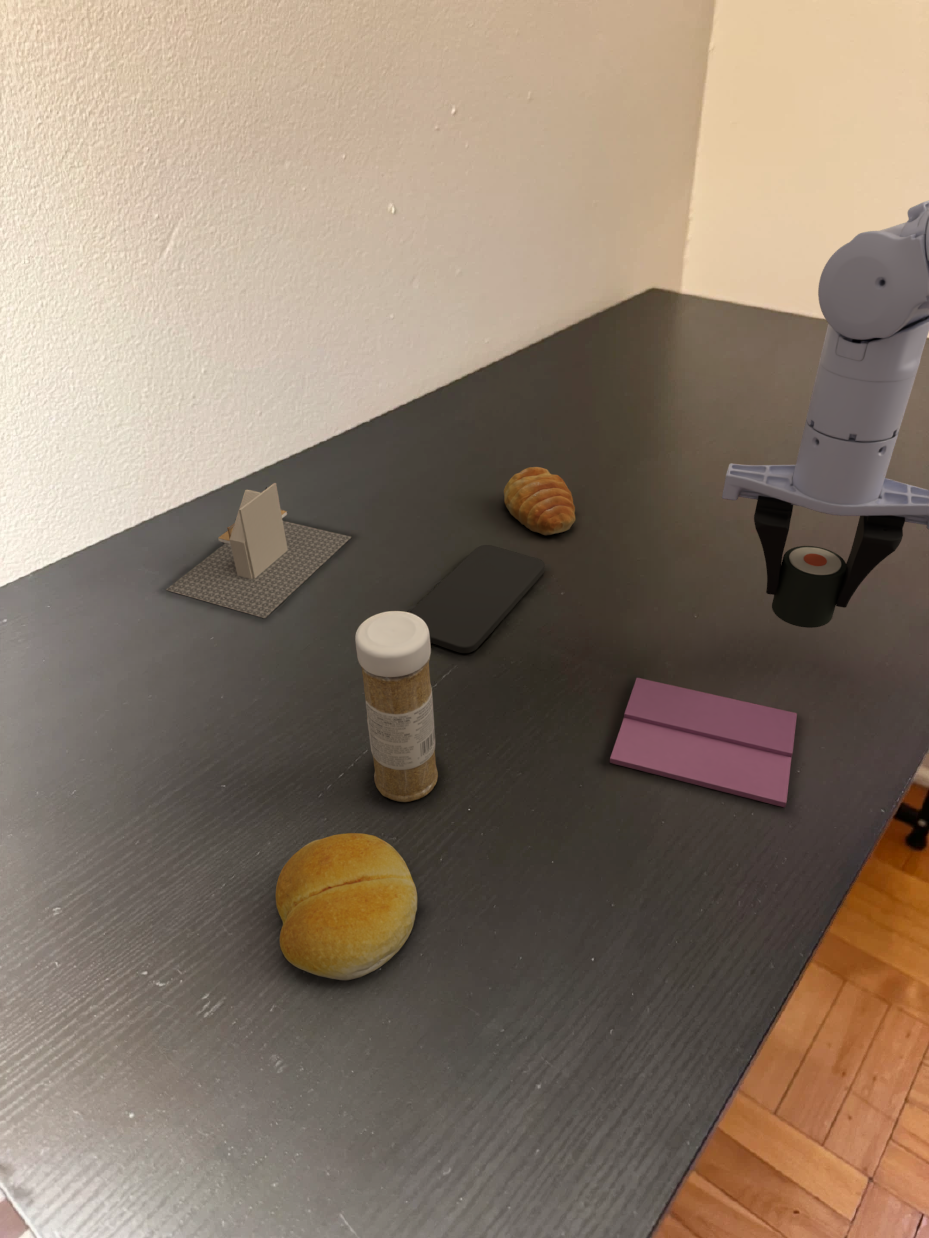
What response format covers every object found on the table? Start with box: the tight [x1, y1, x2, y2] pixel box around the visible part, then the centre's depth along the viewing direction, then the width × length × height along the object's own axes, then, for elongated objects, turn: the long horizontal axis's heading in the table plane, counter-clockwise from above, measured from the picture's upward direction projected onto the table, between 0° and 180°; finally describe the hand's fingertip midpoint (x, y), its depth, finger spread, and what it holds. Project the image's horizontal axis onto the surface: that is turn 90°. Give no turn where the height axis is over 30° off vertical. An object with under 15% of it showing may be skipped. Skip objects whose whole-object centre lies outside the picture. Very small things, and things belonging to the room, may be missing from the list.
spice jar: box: [354, 610, 439, 803], centre depth 55 cm, size 5×5×13 cm
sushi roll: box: [771, 545, 847, 629], centre depth 63 cm, size 4×4×5 cm
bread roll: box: [275, 832, 418, 981], centre depth 50 cm, size 8×9×4 cm
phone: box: [409, 544, 546, 654], centre depth 76 cm, size 7×1×15 cm
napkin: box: [609, 677, 798, 808], centre depth 61 cm, size 12×9×1 cm
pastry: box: [503, 466, 576, 536], centre depth 87 cm, size 9×7×4 cm
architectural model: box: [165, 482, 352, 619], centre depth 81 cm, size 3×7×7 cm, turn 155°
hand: (806, 593), depth 63 cm, fingers closed on sushi roll, 4 cm apart
